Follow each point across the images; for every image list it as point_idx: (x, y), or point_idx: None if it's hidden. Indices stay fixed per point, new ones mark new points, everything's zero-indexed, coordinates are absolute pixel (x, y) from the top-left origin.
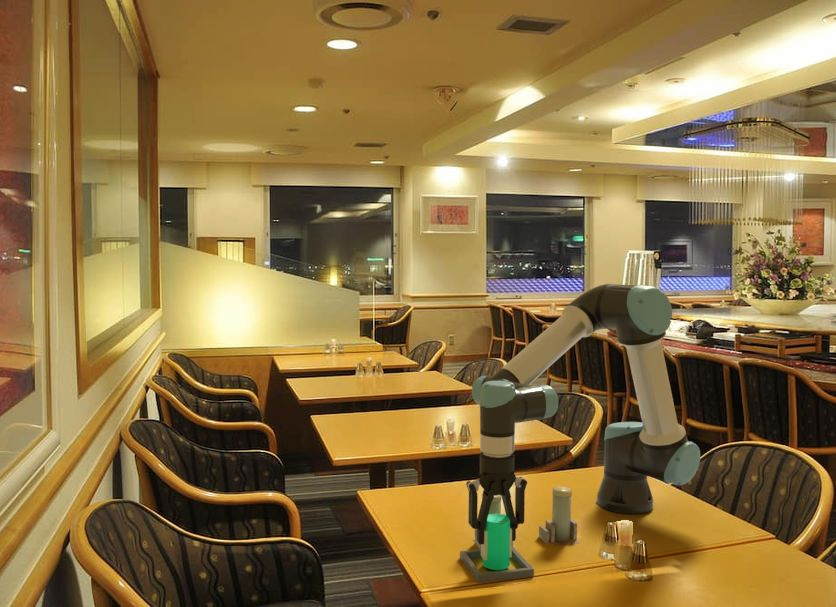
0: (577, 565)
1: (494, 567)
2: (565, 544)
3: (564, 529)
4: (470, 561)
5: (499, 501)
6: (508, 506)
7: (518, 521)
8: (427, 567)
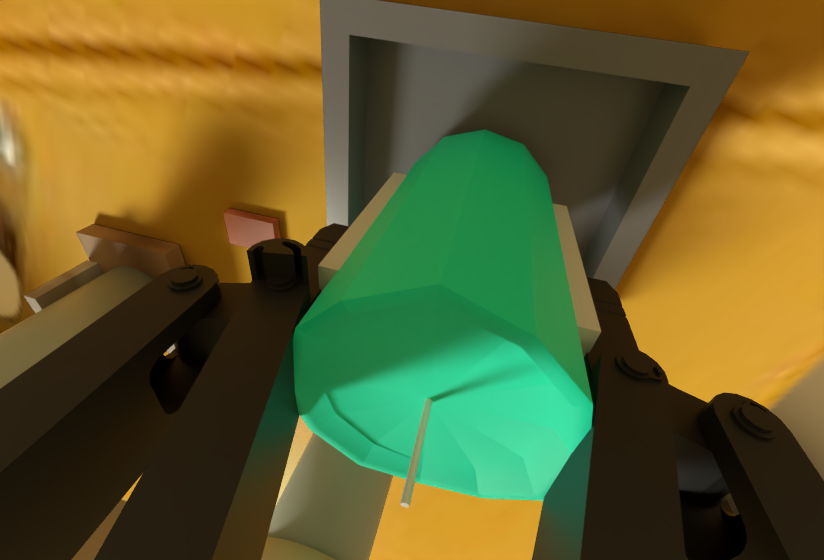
0: (109, 93)
1: (526, 149)
2: (128, 246)
3: (88, 293)
4: (615, 256)
5: (273, 537)
6: (201, 513)
7: (220, 301)
8: (722, 352)
